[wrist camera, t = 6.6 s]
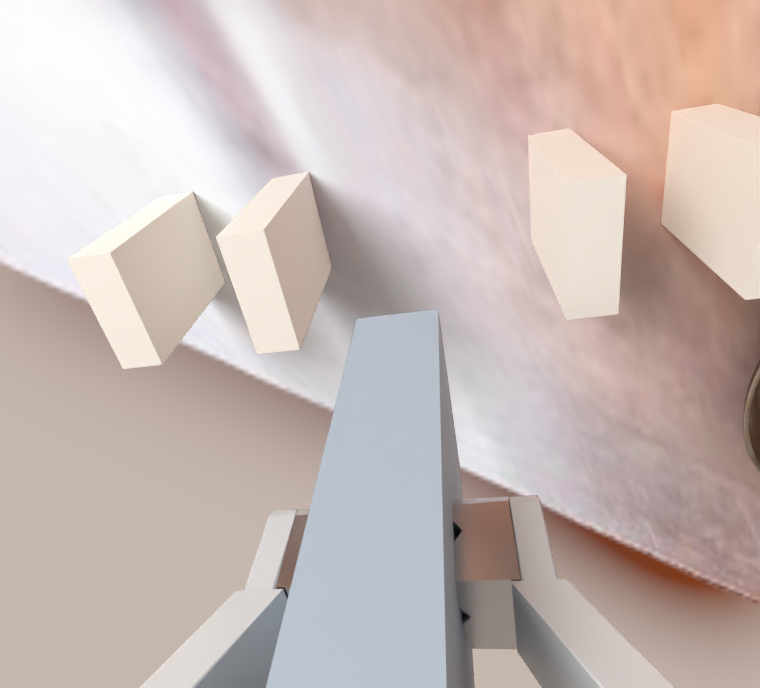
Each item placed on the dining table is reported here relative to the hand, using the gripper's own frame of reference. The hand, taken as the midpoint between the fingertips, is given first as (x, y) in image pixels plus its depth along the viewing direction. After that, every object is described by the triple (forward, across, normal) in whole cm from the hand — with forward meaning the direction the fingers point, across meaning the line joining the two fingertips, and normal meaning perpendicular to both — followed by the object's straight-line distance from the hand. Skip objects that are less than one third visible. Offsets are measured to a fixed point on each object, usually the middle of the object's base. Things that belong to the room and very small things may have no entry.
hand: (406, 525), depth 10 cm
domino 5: (+19, -12, 0) cm, 22 cm away
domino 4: (+19, -6, 0) cm, 20 cm away
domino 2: (+19, +6, 0) cm, 20 cm away
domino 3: (+4, 0, 0) cm, 4 cm away
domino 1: (+19, +12, 0) cm, 22 cm away
